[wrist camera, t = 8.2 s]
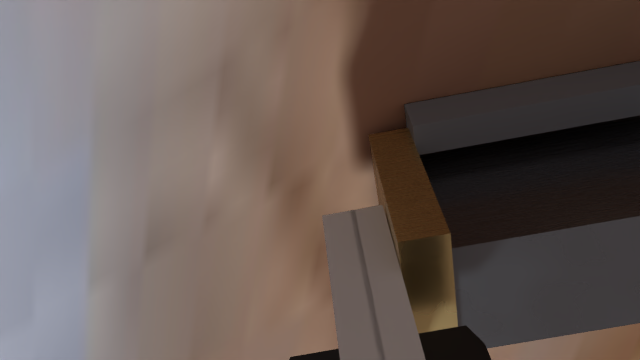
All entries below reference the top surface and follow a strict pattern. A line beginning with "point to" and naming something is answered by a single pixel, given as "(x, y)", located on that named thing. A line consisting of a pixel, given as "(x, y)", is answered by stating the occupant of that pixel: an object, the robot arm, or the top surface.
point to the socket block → (525, 108)
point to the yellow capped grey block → (517, 230)
